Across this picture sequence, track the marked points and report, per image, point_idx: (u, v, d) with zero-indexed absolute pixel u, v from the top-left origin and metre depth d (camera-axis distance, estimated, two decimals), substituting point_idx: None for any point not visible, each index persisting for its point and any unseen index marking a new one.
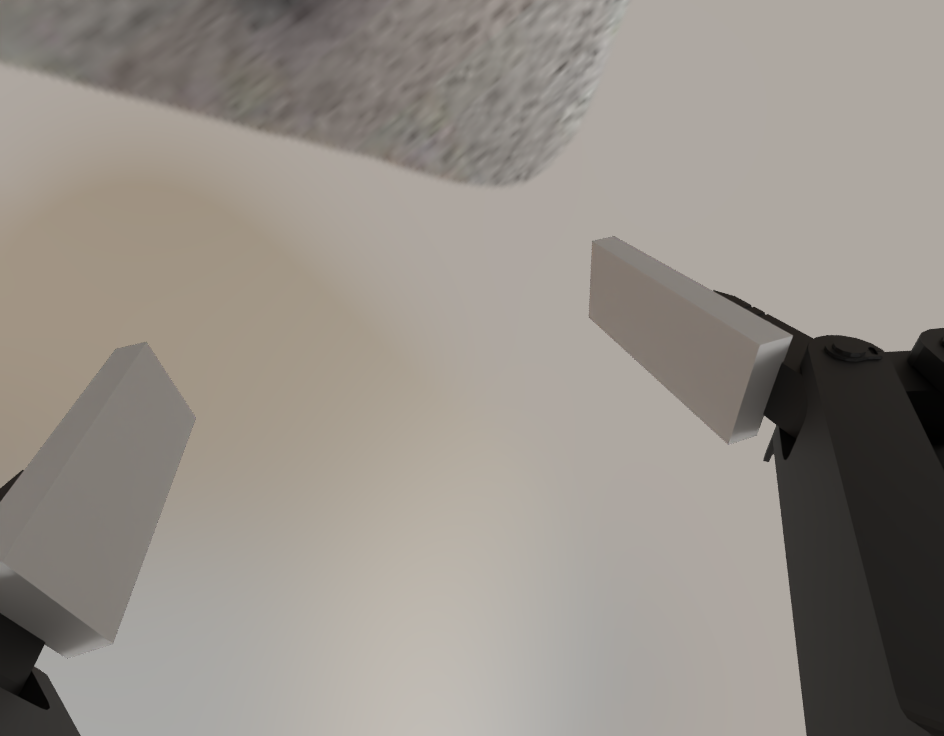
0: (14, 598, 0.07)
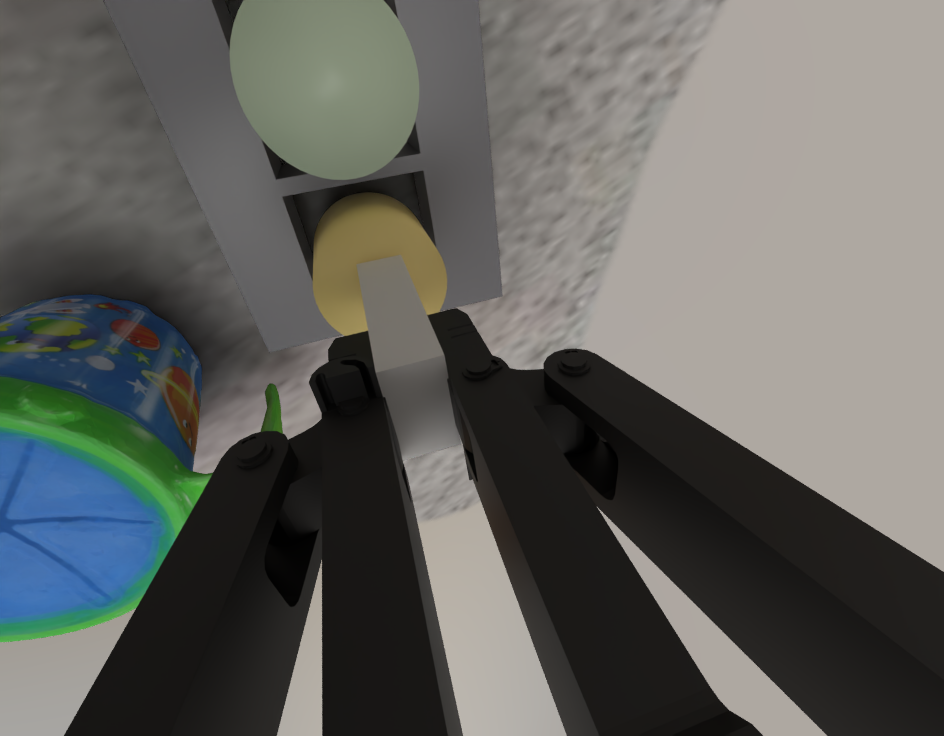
0: (402, 397, 0.10)
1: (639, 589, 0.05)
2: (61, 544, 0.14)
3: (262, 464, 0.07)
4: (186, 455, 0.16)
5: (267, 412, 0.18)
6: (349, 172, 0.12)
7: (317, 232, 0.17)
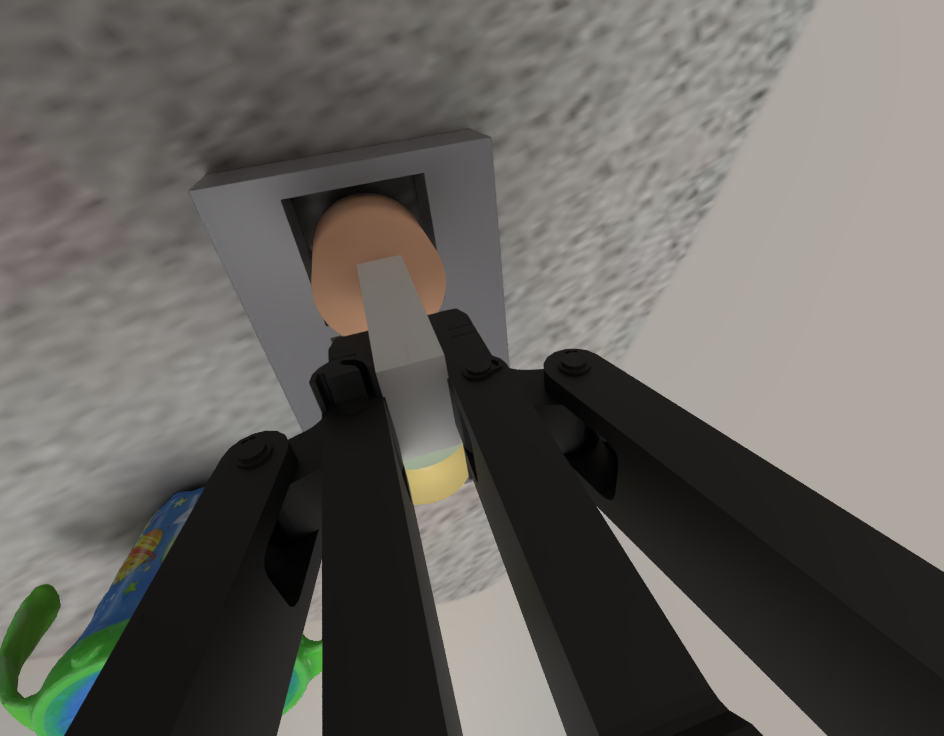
0: (402, 397, 0.10)
1: (639, 589, 0.05)
2: None
3: (262, 464, 0.07)
4: None
5: None
6: (425, 464, 0.19)
7: None
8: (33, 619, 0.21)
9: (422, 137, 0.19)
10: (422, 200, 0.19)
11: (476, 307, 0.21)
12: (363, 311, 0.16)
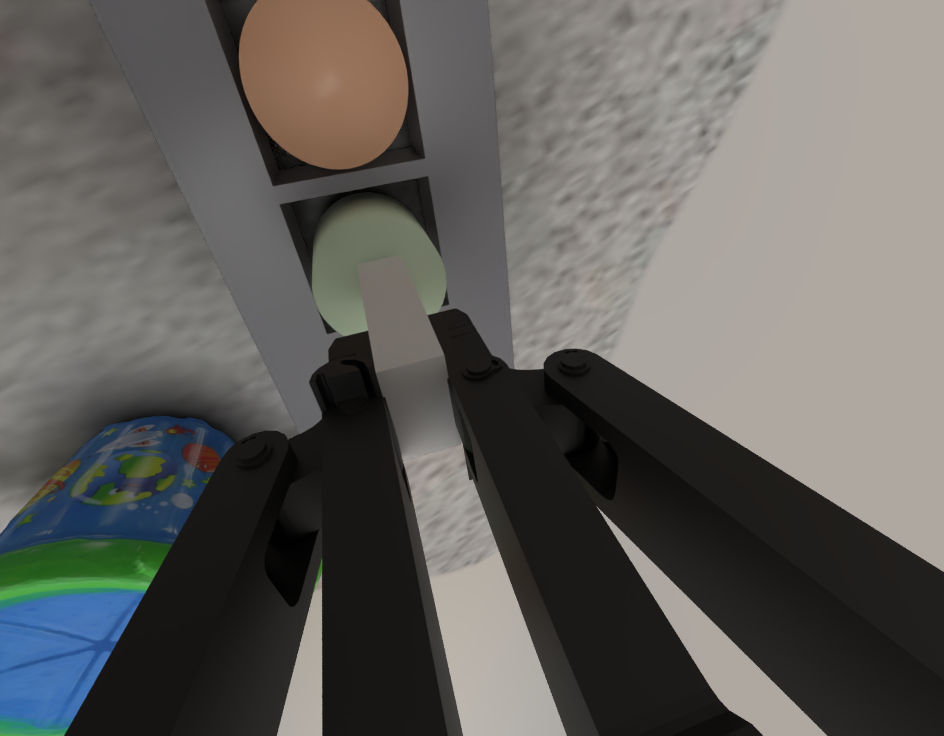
0: (402, 397, 0.10)
1: (639, 589, 0.05)
2: None
3: (262, 464, 0.07)
4: None
5: None
6: None
7: None
8: None
9: None
10: (395, 24, 0.15)
11: (464, 176, 0.17)
12: (307, 116, 0.13)
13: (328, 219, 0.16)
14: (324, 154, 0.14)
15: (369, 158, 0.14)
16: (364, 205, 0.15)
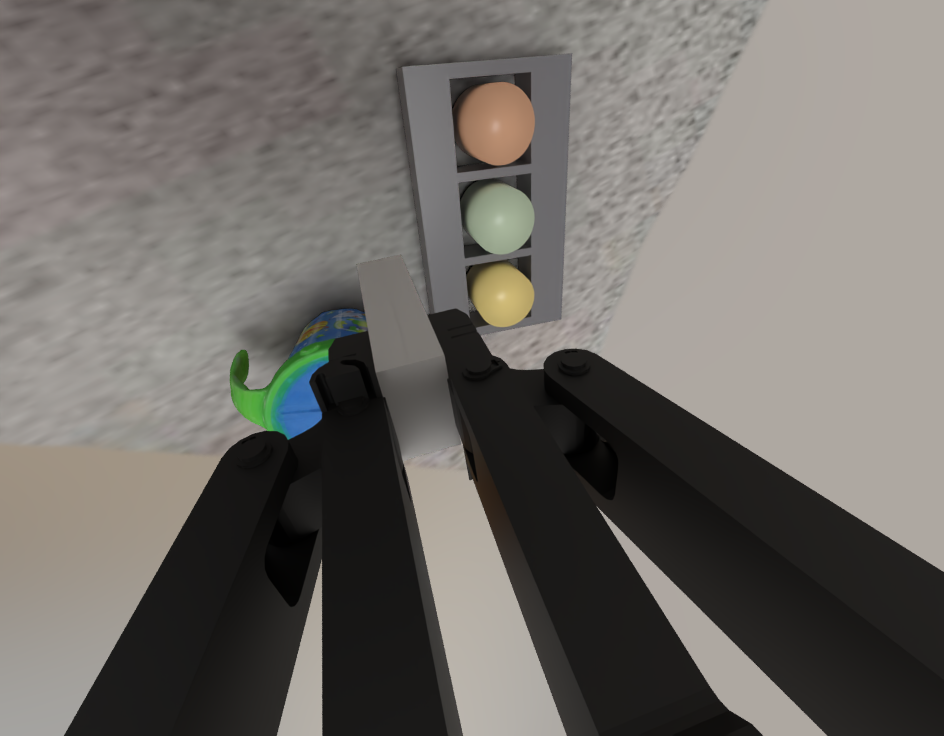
0: (402, 397, 0.10)
1: (639, 589, 0.05)
2: None
3: (262, 464, 0.07)
4: None
5: None
6: (503, 251, 0.32)
7: (472, 274, 0.36)
8: (241, 368, 0.31)
9: None
10: None
11: (549, 174, 0.32)
12: (488, 139, 0.28)
13: (476, 189, 0.32)
14: (492, 157, 0.28)
15: (511, 160, 0.29)
16: (495, 182, 0.31)
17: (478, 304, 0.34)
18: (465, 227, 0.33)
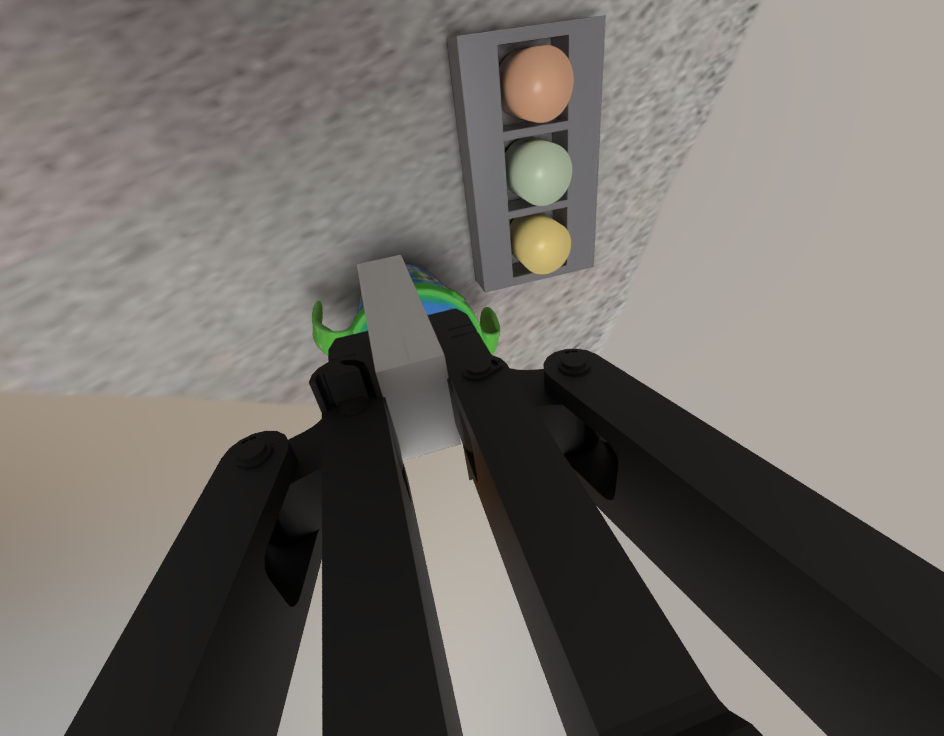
0: (402, 397, 0.10)
1: (639, 589, 0.05)
2: None
3: (262, 464, 0.07)
4: None
5: (492, 317, 0.39)
6: (544, 203, 0.36)
7: (514, 227, 0.39)
8: None
9: None
10: None
11: (584, 129, 0.35)
12: (533, 99, 0.31)
13: (518, 146, 0.35)
14: (535, 115, 0.32)
15: (552, 118, 0.32)
16: (536, 139, 0.35)
17: (521, 253, 0.38)
18: (508, 183, 0.37)
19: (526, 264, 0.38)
